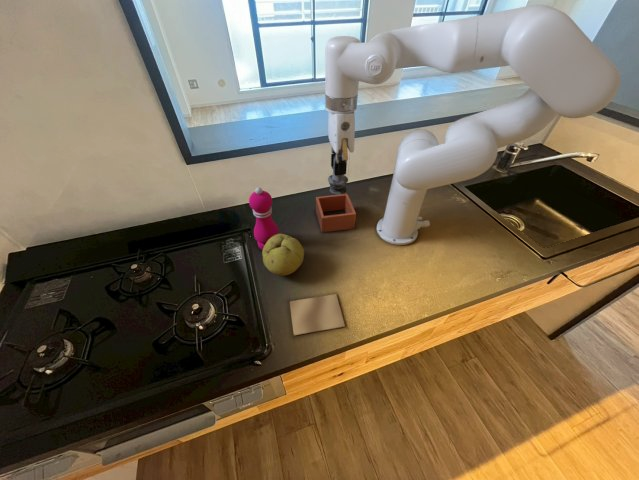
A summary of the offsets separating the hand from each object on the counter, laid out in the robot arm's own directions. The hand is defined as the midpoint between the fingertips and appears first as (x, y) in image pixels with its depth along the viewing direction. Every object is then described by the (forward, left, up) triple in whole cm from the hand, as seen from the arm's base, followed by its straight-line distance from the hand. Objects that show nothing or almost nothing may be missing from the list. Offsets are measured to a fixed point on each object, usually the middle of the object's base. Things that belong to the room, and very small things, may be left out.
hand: (338, 169), depth 78 cm
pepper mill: (+22, +7, -19) cm, 30 cm away
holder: (0, 0, -19) cm, 19 cm away
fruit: (+18, +17, -19) cm, 31 cm away
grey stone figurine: (0, 0, -7) cm, 7 cm away
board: (+12, +33, -19) cm, 40 cm away
